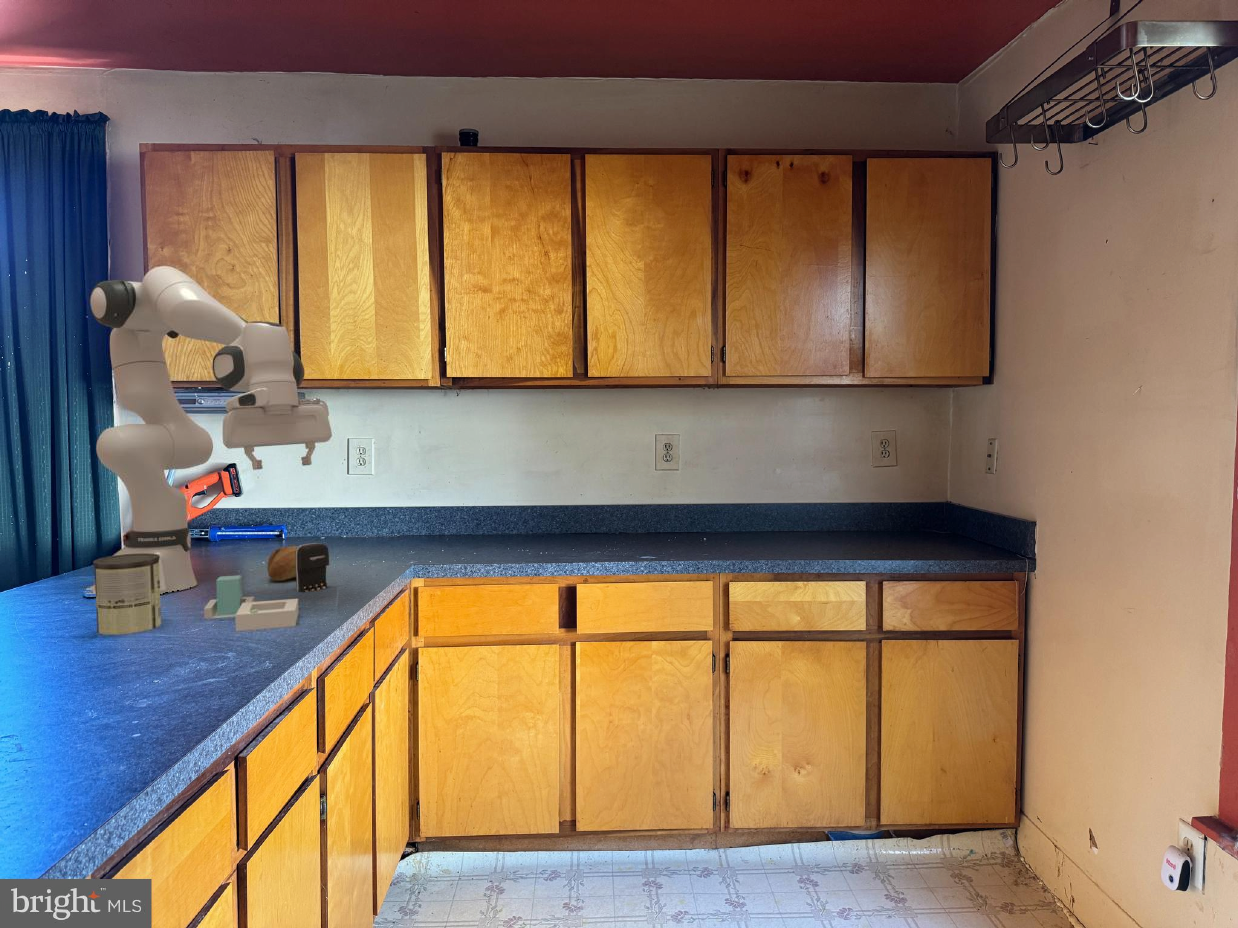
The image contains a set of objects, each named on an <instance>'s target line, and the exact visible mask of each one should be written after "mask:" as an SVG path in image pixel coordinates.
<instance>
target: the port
mask: <svg viewBox="0 0 1238 928" xmlns="http://www.w3.org/2000/svg"><path fill="white" fill-rule="evenodd" d="M235 616H236V617H235V632H244V631H245V632H246V631H247V632H248V631H257V630H268V629H270V630H271V629H280V628H281V629H282V628H291V627H292V628H293V627H296V625H297V621H298V617H299V598H291V599H290V598H289V599H275V600H264V601H263V600H262V601H254V602H247V603H242V605H241V606H240V608H239V610H238V611H237V613H236V615H235Z"/></svg>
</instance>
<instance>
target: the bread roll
mask: <svg viewBox="0 0 1238 928" xmlns="http://www.w3.org/2000/svg"><path fill="white" fill-rule="evenodd" d="M297 547H298V545H297V546H296V545H291V546H290V545H288V546H283V547H280V548H277V549H275V550H274V551H272V553H271V554H270V556H269V558H268V561H267V565H266V567H267V568H266V569H267V573H268V576H269V578H270V579H271V580H272V581H276V582H281V581H286V580H290V579H295V578H296V569H295V551H296V549H297Z"/></svg>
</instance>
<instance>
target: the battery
mask: <svg viewBox="0 0 1238 928" xmlns="http://www.w3.org/2000/svg"><path fill="white" fill-rule="evenodd" d="M328 566H330V553H329V547H328V546H327V545H326V544H323V543H320V542H313V543H312V542H311V543H307V544H301V545H298V546H297V549H296V551H295V569H296V577H295V580H296V582H295V583H296V592H298V593H305V592H306V593H307V592H310V591H316V589H317V590H320V589H326V588H328V584H327V567H328Z"/></svg>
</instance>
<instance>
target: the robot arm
mask: <svg viewBox="0 0 1238 928" xmlns="http://www.w3.org/2000/svg"><path fill="white" fill-rule="evenodd" d="M89 305H90V306H89V307H90V311H91V314H92V317H94V318H95V320H96V321H97V322H98V324H101V325H103V326H106V327H108V328H109V327H110V328H113V329H112V331H111V332H110V335H109V351H110V355H109V356H110V361H111V369H112V373H113V377H114V382H115V387H116V391H117V395H118V400H119V402H120V404H121V405H122V406H123V407H125V409H127V410H129V411H131V412H133V413H135V414H136V415H137V416H139V418H140V419H141V420H142V421H143V422H144V423H135V424H134V423H128V424H123V425H122V424H121V425H117V426H113V427H108V428H106V429H104V430H103V431H102V433H100V434H99V435H100V436H99V437H98V439H97V441H96V448H95V450H96V455H97V457H98V459H99V461H100V462H101V464H102V465H103V466H104V467H105V468H107V469H108V470H110V471H111V472H113V473H114V474H115V475H116V476H118V478H119V479H120V480H121V482H122V483H123V485H124V486H125V488H126V490H127V492H128V495H129V499H130V505H131V514H132V529H130V530H127V531H126V532H125V534H123V535H122V539H121V540H122V543H123V546H124V547H122V548H121V549H120V550H118V551H117V552H116V553H114V554H113V555H112V556H116V555H124V554H140V553H147V554H148V553H149V554H157V555H159V556H160V559H159V576H160V594H161V595H163V593H165V592H168V593H173V592H172V591H174V592H178V591H177V590H179V591H184V590H187V589H190V587H191V588H193V587H195V586H197V585H198V582H197V580H196V576H195V574H194V570H193V566H192V561H191V556H190V555H191V554H190V553H191V552H190V550H191V547H192V546H191V545H192V542H191V541H192V540H191V530H190V527H189V526H188V503H187V497H186V495H185V493H184V492H183V491H182V490H181V489H179V488H177V487H174V485H173V486H172V485H171V484H170V483H169V481H168V479H167V477H166V473H165V471H170V470H171V471H172V470H186V469H191V468H194V467H198V466H201V465H204V464H206V463H207V462H208V461H209V460H210V459H211V456H212V455H213V450H214V442H213V439H212V436H211V435H210V433H209V432H208V431H207V430H206V429H205V428H203V427H202V426H200V425H198V424H197V423H196V422H195V421H194V420H193V419H192V418H191V417H189V415H188V414H187V412H186V411H185V410H184V408H182V406H181V404H180V403H179V401H178V399H177V396H176V394H175V391H174V387H173V383H172V380H171V376H170V374H169V368H168V364H167V361H166V355H165V352H164V350H163V349H164V347H163V341H164V338H165V336H167V337H169V338H170V339H177V338H179V336H181V337H184V338H188V339H191V340H197V341H202V342H208V343H214V344H219V345H224V346H223V347H221V348H220V349H219V350H217V352H216V353H215V354H214V356H213V359H212V363H211V365H212V366H211V367H212V372H213V373H212V374H213V377H214V379H215V381H216V382H217V384H218V385H219V386H220V387H221V388H223V389H225V390H227V391H228V390H229V391H231V392H243V393H241V394H239V395H236V396H233V397H231V398H229V399H228V400H227V401H226V403H225V409H226V411H227V412H228V413H226V414H225V416H224V418H223V420H222V444H223V445H224V447H226V449H244V455H245V456H246V458H248V459H249V461H250V462H251V464H252V465H251V466H252V470H253V471H257V470H263V460H262V459H257V458H256V456H255V454H254V452H255V448H259V447H273V446H289V445H303V444H304V446H305V449H306V450H307V449H308V450H307V451H306V454H305V455H304V456H302V457H300V458H301V459H300V460H301V465H302V466H311V465H312V462H313V461H312V457H313V456H312V455H313V454H314V452H315V450H316V444H317V443H319V444H320V443H326V442H328V441H330V440H331V438H332V437H333V434H332V433H333V432H332V428H331V423H330V420H329V416H330V411H329V405H328V404H327V403H326V401H324V400H321V399H320V398H299V396H298V395H299V394H298V389H299V388H300V387H301V385H302V383H303V381H304V379H305V367H304V364H303V361H302V360H301V359H300V357H299V355H298V354H297V353H296V352H295V351H294V350H293V348H292V347H293V346H292V344H291V339H290V336H289V332H288V330H287V328H286V327H285V326H284V325H282V324H281V323H278V322H272V321H261V320H260V321H258V320H255V321H249V322H248V320H246V319H244V318H243V317H242V316H240V315H239V314H237V313H235V312H234V311H233V310H231V309H229V308H228V307H226V306H225V305H223V304H222V302H220V301H219V300H217V299H215V298H214V297H213V296H212V295H211V294H210V293H208V292H207V291H206V290H205V289H204V288H203V287H202V286H201V285H200V284H199V283H198V282H196V280H194V279H193V278H191V276H189V275H188V274H185V273H184V271H181V270H179V269H177V268H175V267H172V266H169V265H168V266H167V265H160V266H156V267H154V268H151V269H150V270H149V271H148V272H147V273H146V274H145V275H144V276H143V279H142V282H141V281H140V282H139V281H129V280H128V281H127V280H126V279H123V280H122V279H113V280H103V281H101V282H99V283H97V284H96V285H94V286H93V288H92V290H91V292H90V298H89ZM244 392H245V393H244ZM89 587H90V588H89ZM89 587H87V588H85V589H86V590H92V591H93V593H91V592H90V593H86V594H96V590H95V583H94V585H92V586H89ZM85 592H86V591H85ZM165 594H166V593H165Z"/></svg>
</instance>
